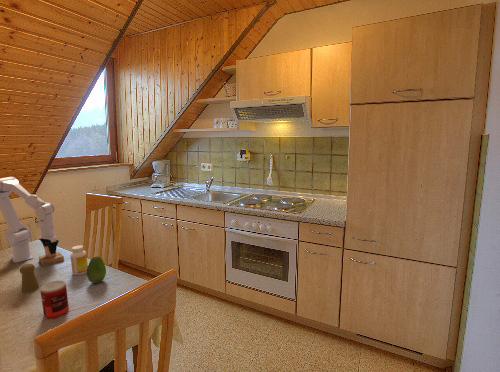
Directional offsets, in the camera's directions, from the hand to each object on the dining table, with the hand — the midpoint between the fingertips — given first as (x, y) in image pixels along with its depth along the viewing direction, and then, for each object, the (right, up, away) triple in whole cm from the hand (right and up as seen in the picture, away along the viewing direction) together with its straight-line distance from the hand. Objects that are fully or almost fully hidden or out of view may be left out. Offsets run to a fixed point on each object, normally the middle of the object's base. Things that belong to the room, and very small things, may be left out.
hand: (50, 252), depth 154 cm
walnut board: (0, -5, +1) cm, 5 cm away
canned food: (+32, -13, -44) cm, 56 cm away
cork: (+10, -10, -27) cm, 30 cm away
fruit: (+36, -9, -21) cm, 43 cm away
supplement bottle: (+23, -7, -12) cm, 27 cm away
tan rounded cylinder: (0, -2, +1) cm, 2 cm away
